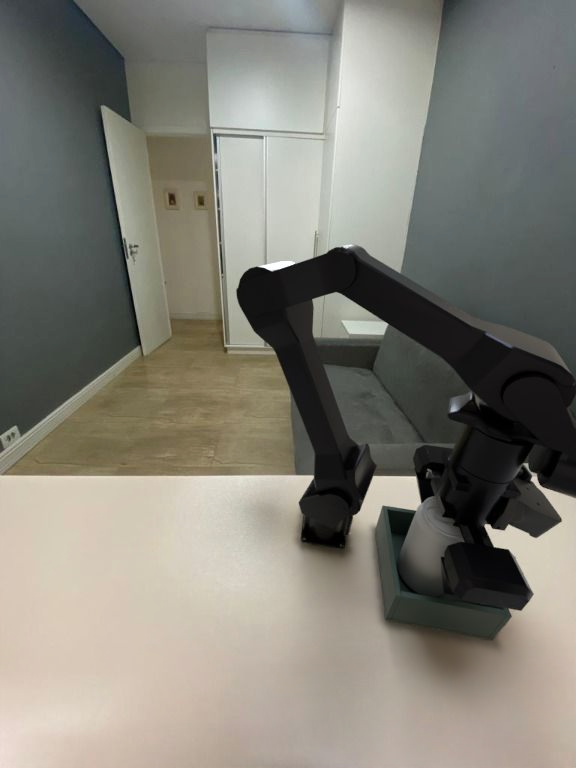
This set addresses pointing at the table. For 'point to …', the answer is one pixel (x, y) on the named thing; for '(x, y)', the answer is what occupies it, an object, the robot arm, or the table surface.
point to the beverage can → (427, 548)
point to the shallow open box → (420, 608)
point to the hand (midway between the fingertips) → (437, 553)
